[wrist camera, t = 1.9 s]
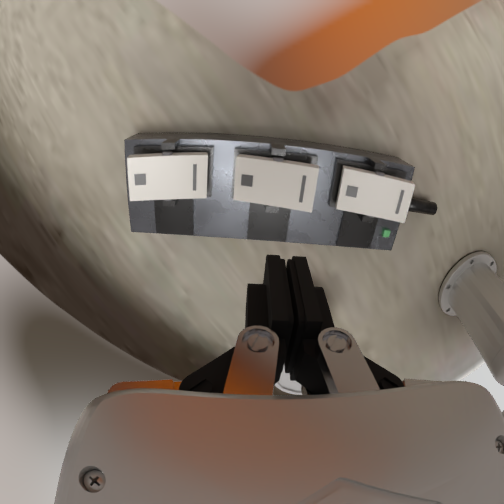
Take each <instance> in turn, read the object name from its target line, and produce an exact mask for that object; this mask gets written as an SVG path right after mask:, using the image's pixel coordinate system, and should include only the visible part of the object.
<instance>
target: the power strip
mask: <svg viewBox="0 0 504 504" xmlns="http://www.w3.org/2000/svg"><path fill="white" fill-rule="evenodd" d="M164 151H172V152H173V153H181V152H207V154H208V169H207V198H199V199H173V200H171V201H165V200H144V201H130V197H129V184H128V168H127V157H128V156H129V155H135V154H153V153H162V152H164ZM239 154H245V155H253V156H261V157H268V158H273V157H281V158H284V160H289V161H296V162H302V163H308V164H314V165H319V173H318V179H317V185H316V191H315V197H314V202H313V208H312V213H311V212H305V211H299V210H294V209H288V208H282V207H276V208H273V207H269V206H268V205H263V204H257V203H250V202H244V201H237V200H233V198H234V182H235V167H236V156H238V155H239ZM125 163H126V180H127V193H128V205H129V215H130V224H131V232H145V233H161V234H177V235H193V236H208V237H223V238H238V239H252V240H266V241H280V242H293V243H306V244H319V245H332V246H344V247H357V248H369V249H381V250H391V249H392V246H393V243H394V240H395V237H396V234H397V231H398V227H399V224H400V222H396V221H392V220H387V219H383V218H378V217H374V218H371V217H368V216H366V215H363V214H358V213H353V212H348V211H343V210H338V209H336V200H337V195H338V190H339V185H340V180H341V174H342V169H343V165H344V166H349V167H354V168H359V169H364V170H368V171H373V172H376V171H380V172H383V173H385V174H386V175H390V176H394V177H398V178H402V179H406V180H410V181H411V180H412V176H413V172H414V168H415V167H413V166H412V165H410V164H408V163H407V162H405V161H403V160H402V159H400V158H398V157H393V156H389V155H384V154H379V153H374V152H369V151H364V150H359V149H353V148H347V147H341V146H335V145H329V144H322V143H315V142H307V141H300V140H291V139H282V138H272V137H261V136H249V135H234V134H215V133H138V134H136V135H134V136H131V137H129V138H127V139H125ZM408 211H411V212H417V213H423V214H429V215H434V214H435V213H436V211H437V205H436V203H435V202H430V201H425V200H419V199H414V198H412V199H411V203H410V206H409V210H408Z"/></svg>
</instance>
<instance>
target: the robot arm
mask: <svg viewBox="0 0 504 504" xmlns="http://www.w3.org/2000/svg"><path fill="white" fill-rule="evenodd" d="M496 271H497V268H496V262H495V260H494V259H493V257H492V256H491V255H490V254H488V253H486V252H482V251H480V252H475V253H472V254H470V255H468V256H466V257H464V258H463V259H462V260H460V261H459V262H458V263H457V264H456V265H455V266H454V267H453V268H452V269H451V271H450V272H449V273H448V275H447V276H446V278H445V279H444V281H443V283H442V286H441V289H440V292H439V304H440V307H441V308H442V310H443V311H444V313H446V314H448V315H451V316H458V318H459V319H460V321H461V323H462V324H463V326H464V327H465V329H466V330H467V332H468V334H469V335H470V337H471V339H472V340H473V342H474V343H475V345H476V347H477V348H478V350H479V352H480V354H481V355H482V357H483V359H484V361H485V362H486V364H487V366H488V368H489V369H490V371H491V373H492V374H493V377H494V378H495V380H496V381H497V382H498V383H500V384H501V385H503V386H504V283H503V281H502V280H501V279H500V278H499V277H498V276H497V275H496ZM284 366H285V373H290V381H297V382H298V383H299V384H301V385H302V386H301V392H302V395H273V388H274V385H275V384H276V383H277V382H278V381H279V380H280V376H281V373H282V371H283V367H284ZM102 472H103V473H102ZM54 504H504V411H503V412H501V411H500V409H499V407H498V405H497V403H496V401H495V400H494V398H493V396H492V395H491V394H490V392H488V391H487V389H486V388H484V387H482V386H481V385H478V384H475V383H471V382H466V381H465V382H464V381H444V382H442V381H430V380H417V379H404V380H403V381H401V380H400V379H399V378H398V377H397V376H396V375H394V374H392V373H391V372H389V371H387V370H386V369H384V368H382V367H381V366H379V365H378V364H376V363H374V362H373V361H371V360H369V359H368V358H366V357H365V356H363V354H362V352H361V350H360V348H359V346H358V344H357V342H356V341H355V339H354V337H353V336H352V335H351V334H350V333H349V332H348V331H346V330H344V329H341V328H337V327H334V323H333V320H332V316H331V313H330V310H329V306H328V303H327V299H326V296H325V293H324V290H323V288H322V287H314V285H313V281H312V277H311V274H310V270H309V266H308V263H307V259H306V257H297V256H293V257H292V259H288V260H287V266H286V265H285V260H284V259H280V256H279V255H267V256H266V264H265V273H264V282H263V284H248V287H247V300H246V321H245V329H243V330H242V331H241V332H240V333H239V335H238V338H237V342H236V345H235V347H233V348H232V349H230V350H229V351H227V352H225V353H224V354H222V355H221V356H219V357H218V358H216V359H214V360H213V361H211V362H210V363H208V364H207V365H205V366H203V367H202V368H200V369H198V370H197V371H195V372H194V373H192V374H190V375H189V376H187V377H186V378H185V379H184V380H183V381H177V382H173V379H169V380H150V381H123V382H118V383H116V384H114V385H112V386H111V388H110V389H109V390H108V393H107V394H104V395H101V396H99V397H97V398H95V399H94V400H92V401H91V402H90V403H89V404H88V405H87V406H86V408H85V409H84V411H83V412H82V414H81V416H80V417H79V420H78V422H77V424H76V426H75V429H74V431H73V434H72V436H71V439H70V441H69V445H68V448H67V451H66V455H65V458H64V461H63V465H62V469H61V473H60V477H59V482H58V487H57V492H56V497H55V503H54Z"/></svg>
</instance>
